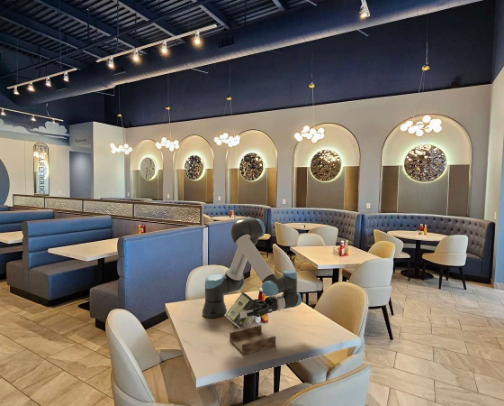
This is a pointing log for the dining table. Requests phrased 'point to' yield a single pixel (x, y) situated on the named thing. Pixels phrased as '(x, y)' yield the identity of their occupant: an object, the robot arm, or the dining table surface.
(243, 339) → the cradle
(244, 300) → the coffee can
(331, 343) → the dining table surface
